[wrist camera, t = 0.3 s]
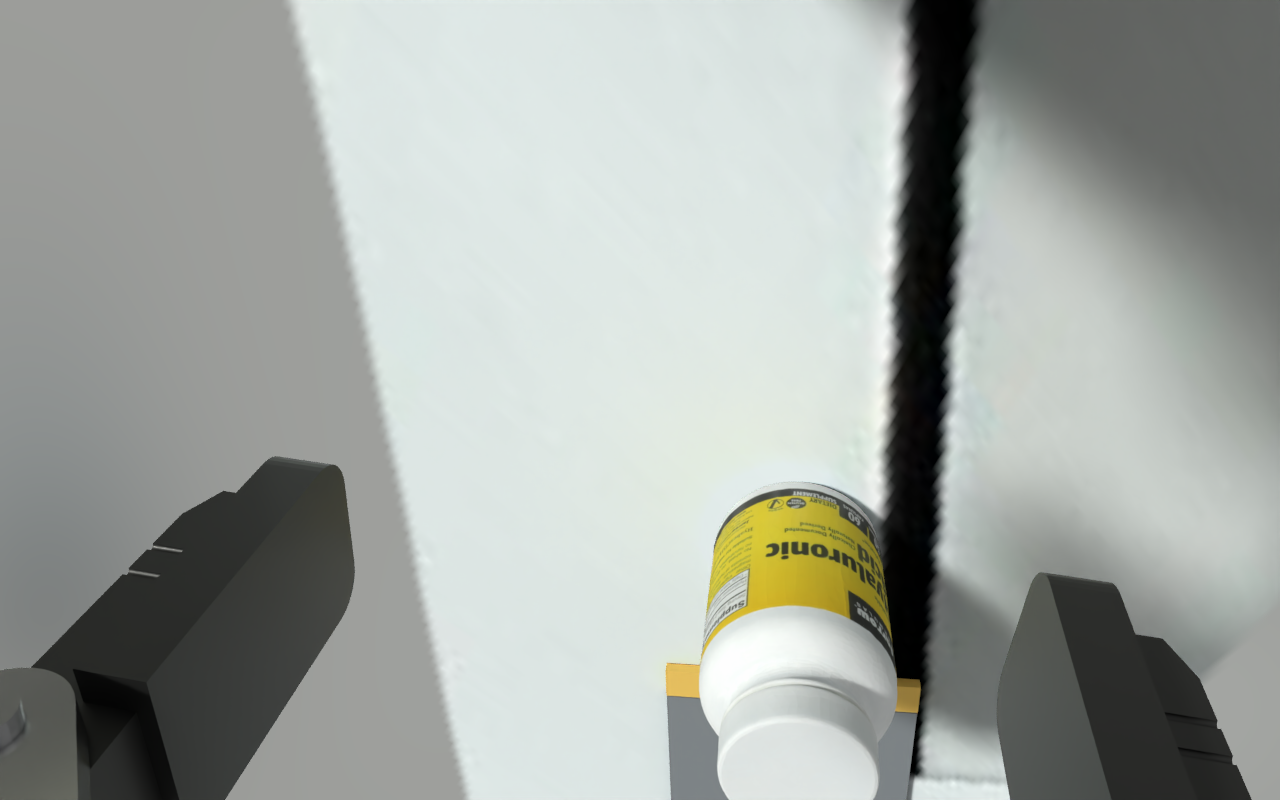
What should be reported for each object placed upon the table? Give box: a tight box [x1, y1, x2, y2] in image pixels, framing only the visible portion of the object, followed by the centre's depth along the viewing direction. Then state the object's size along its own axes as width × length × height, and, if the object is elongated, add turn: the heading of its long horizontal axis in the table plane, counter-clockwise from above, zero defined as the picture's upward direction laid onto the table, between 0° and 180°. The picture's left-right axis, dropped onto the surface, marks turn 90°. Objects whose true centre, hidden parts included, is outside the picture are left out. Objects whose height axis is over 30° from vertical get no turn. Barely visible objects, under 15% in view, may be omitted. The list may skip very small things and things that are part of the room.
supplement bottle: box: [699, 482, 897, 800], centre depth 28 cm, size 5×5×10 cm
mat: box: [666, 663, 921, 800], centre depth 37 cm, size 10×9×1 cm
